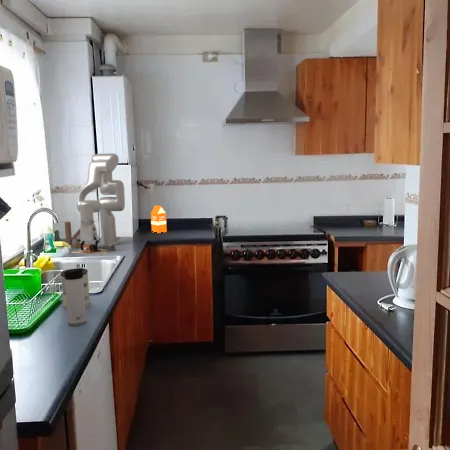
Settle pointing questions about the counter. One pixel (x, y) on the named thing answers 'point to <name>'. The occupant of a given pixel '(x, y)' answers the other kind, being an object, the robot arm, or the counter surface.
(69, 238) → the brown long handled part
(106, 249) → the jig
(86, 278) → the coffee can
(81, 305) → the travel mug
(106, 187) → the robot arm
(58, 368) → the counter surface
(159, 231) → the orange juice
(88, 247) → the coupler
